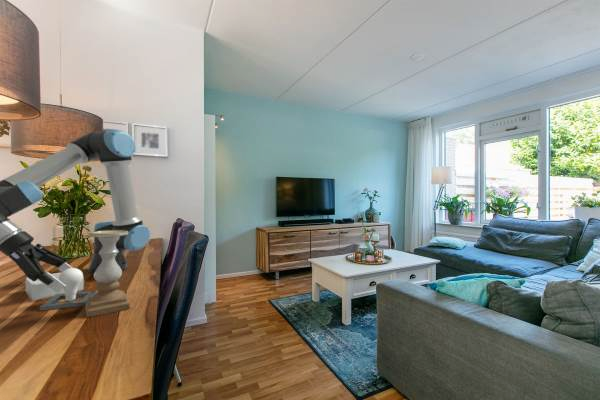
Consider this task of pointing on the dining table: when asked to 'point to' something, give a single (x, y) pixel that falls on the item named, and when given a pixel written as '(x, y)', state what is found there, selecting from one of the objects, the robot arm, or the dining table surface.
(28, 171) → the robot arm
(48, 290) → the bin
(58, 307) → the dark grey square frame
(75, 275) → the lightbulb
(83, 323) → the dining table surface
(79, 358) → the dining table surface
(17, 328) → the dining table surface
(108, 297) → the candle holder
